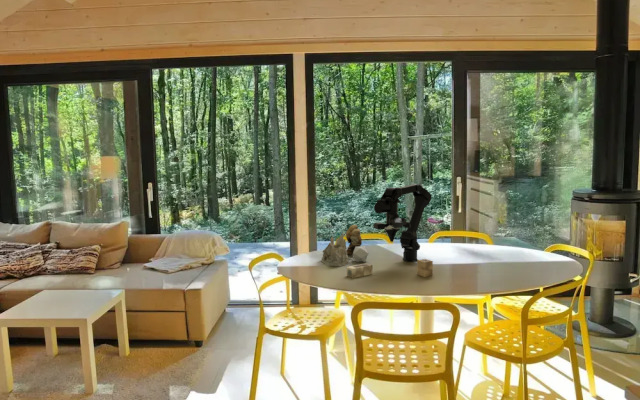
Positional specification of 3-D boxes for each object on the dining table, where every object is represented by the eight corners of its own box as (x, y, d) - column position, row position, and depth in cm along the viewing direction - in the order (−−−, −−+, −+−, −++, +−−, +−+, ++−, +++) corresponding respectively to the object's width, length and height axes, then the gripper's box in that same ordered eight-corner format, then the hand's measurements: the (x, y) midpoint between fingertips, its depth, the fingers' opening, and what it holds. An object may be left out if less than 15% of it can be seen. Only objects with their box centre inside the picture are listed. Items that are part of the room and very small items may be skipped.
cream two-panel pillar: (366, 263, 222) (346, 266, 215) (372, 264, 218) (352, 268, 211) (366, 272, 222) (346, 276, 215) (372, 274, 218) (352, 278, 212)
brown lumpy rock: (367, 257, 254) (367, 226, 253) (346, 257, 254) (346, 227, 252) (364, 250, 272) (364, 222, 271) (344, 250, 272) (344, 222, 270)
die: (363, 265, 239) (372, 249, 241) (349, 256, 240) (358, 241, 242) (362, 266, 247) (370, 251, 249) (348, 258, 248) (357, 243, 250)
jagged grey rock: (327, 257, 254) (327, 231, 251) (354, 261, 246) (354, 234, 243) (313, 265, 240) (313, 237, 238) (341, 269, 232) (341, 241, 230)
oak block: (425, 273, 218) (425, 258, 218) (432, 275, 214) (432, 260, 213) (417, 274, 216) (417, 259, 215) (424, 276, 212) (424, 262, 211)
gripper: (382, 214, 223) (382, 245, 224) (416, 212, 229) (415, 243, 230) (372, 212, 233) (372, 241, 235) (405, 210, 239) (404, 239, 241)
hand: (391, 241), depth 235 cm, fingers closed
